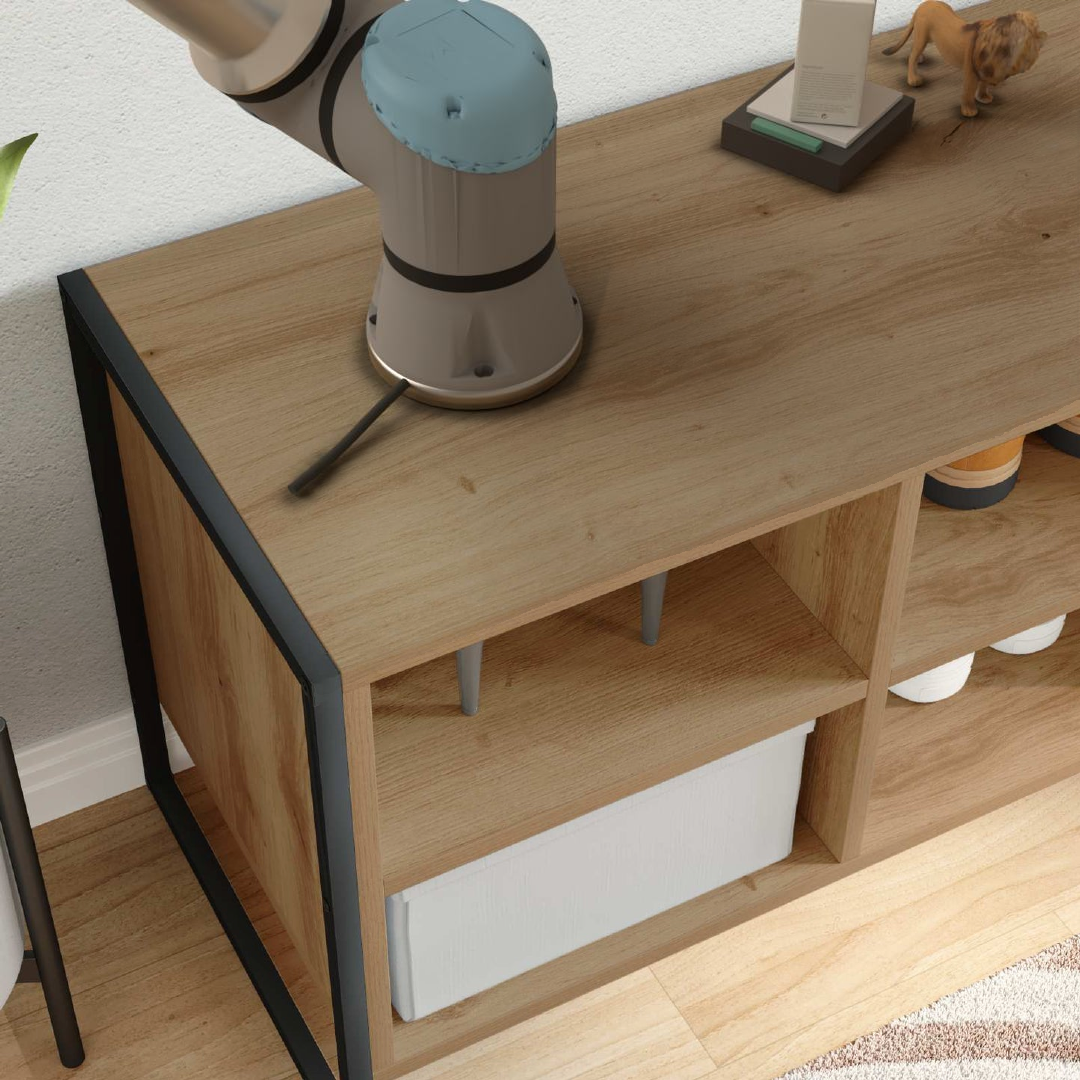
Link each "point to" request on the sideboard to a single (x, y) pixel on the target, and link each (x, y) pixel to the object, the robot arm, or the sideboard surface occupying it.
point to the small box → (831, 61)
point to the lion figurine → (974, 47)
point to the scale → (815, 133)
